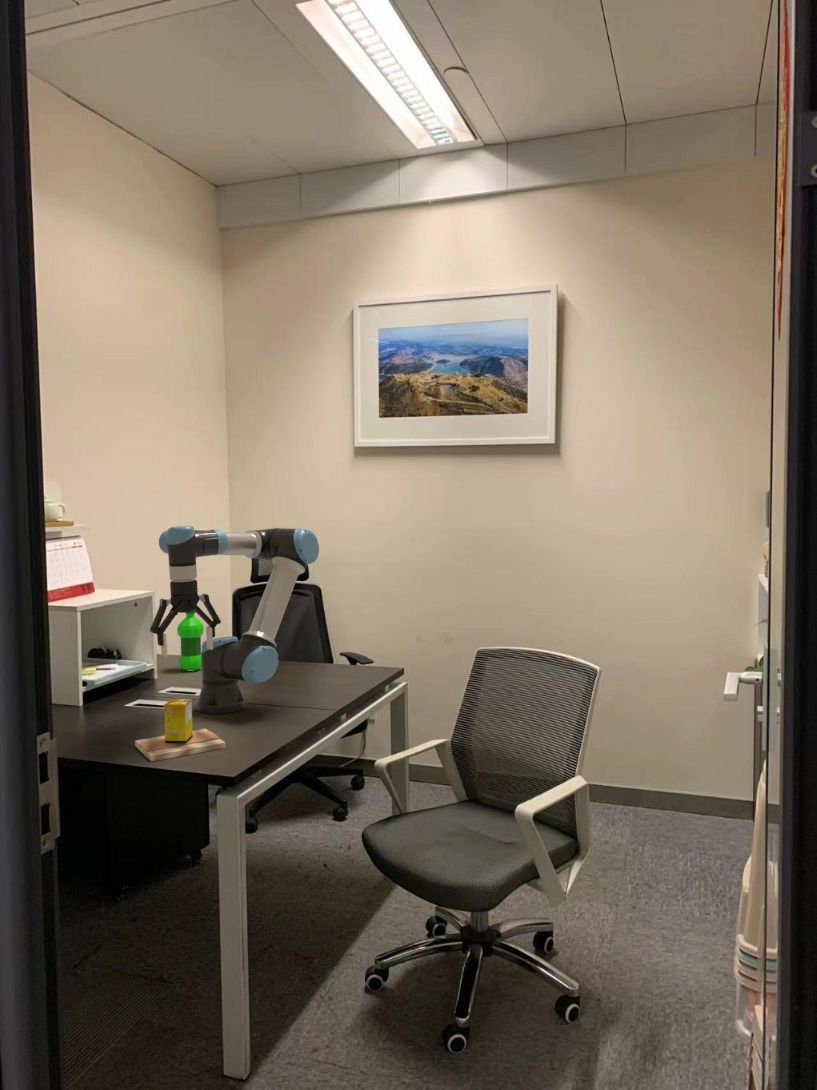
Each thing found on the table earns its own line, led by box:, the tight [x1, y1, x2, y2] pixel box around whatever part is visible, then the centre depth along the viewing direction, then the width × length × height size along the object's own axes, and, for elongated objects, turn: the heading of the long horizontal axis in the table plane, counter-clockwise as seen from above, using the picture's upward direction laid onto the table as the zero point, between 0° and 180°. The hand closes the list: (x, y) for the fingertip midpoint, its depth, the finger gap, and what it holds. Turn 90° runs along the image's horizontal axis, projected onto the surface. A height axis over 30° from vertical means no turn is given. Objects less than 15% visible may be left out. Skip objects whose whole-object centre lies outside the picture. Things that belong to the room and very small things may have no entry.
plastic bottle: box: [176, 610, 205, 671], centre depth 314 cm, size 10×10×25 cm
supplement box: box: [163, 698, 193, 743], centre depth 216 cm, size 6×6×11 cm
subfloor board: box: [134, 728, 226, 763], centre depth 216 cm, size 20×16×2 cm
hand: (187, 652), depth 227 cm, fingers open, 13 cm apart
